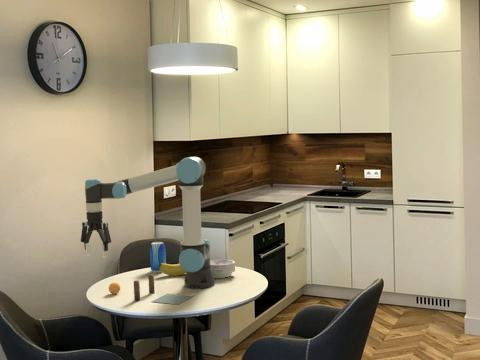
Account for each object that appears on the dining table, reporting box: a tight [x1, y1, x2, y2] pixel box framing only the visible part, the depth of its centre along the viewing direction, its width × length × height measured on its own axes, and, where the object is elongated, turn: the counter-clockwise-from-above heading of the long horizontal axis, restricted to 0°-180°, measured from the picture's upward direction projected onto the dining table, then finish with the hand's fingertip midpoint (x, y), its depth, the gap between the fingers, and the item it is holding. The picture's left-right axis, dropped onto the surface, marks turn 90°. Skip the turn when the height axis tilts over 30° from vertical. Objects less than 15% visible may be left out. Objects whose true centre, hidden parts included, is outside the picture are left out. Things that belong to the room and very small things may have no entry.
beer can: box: [149, 241, 167, 274], centre depth 333 cm, size 8×8×16 cm
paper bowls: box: [210, 259, 236, 279], centre depth 317 cm, size 15×15×8 cm
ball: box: [108, 282, 121, 295], centre depth 289 cm, size 6×6×6 cm
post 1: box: [133, 279, 141, 302], centre depth 277 cm, size 3×3×9 cm
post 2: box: [147, 273, 156, 295], centre depth 288 cm, size 3×3×9 cm
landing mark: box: [151, 293, 194, 306], centre depth 277 cm, size 14×14×1 cm
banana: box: [159, 262, 187, 277], centre depth 323 cm, size 23×6×20 cm, turn 106°
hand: (96, 257), depth 292 cm, fingers open, 9 cm apart
